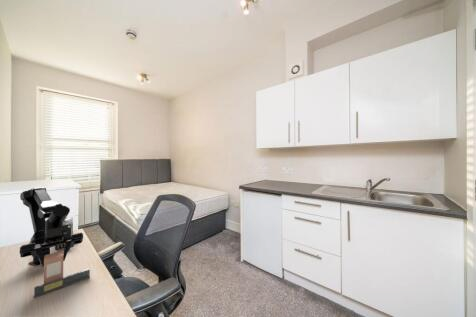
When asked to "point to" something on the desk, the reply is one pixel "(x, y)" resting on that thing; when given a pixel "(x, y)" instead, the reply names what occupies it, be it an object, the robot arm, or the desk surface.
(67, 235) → the battery charger
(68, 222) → the syrup box
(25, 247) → the robot arm
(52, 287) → the rail
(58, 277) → the carton
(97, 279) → the desk surface
